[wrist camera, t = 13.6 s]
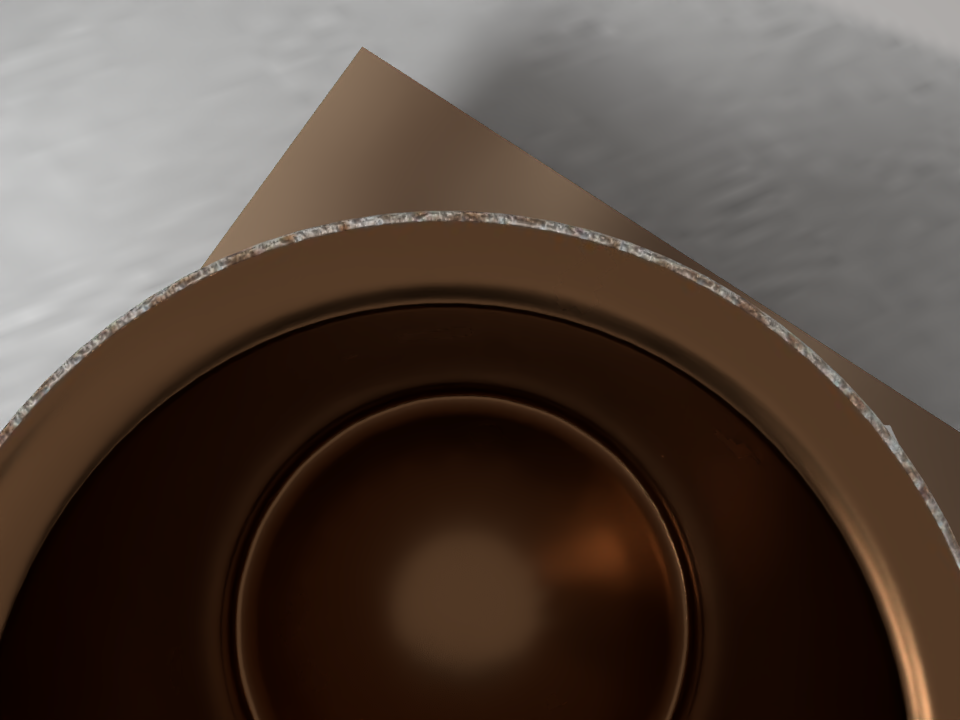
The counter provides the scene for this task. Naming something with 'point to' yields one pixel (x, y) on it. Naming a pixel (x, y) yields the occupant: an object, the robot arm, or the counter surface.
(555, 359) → the planter
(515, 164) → the plant stand
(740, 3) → the counter surface
